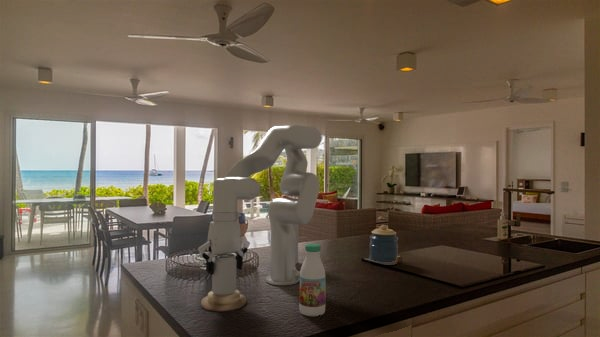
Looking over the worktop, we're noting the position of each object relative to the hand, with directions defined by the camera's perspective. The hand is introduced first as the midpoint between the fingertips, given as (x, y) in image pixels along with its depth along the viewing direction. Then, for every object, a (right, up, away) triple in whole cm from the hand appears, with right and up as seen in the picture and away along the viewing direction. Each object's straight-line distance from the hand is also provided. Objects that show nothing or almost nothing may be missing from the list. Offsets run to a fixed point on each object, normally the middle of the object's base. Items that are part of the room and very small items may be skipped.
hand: (224, 271), depth 117 cm
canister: (+62, -11, +53) cm, 83 cm away
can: (0, -7, 0) cm, 7 cm away
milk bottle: (+27, -11, -7) cm, 30 cm away
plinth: (0, -10, 0) cm, 10 cm away
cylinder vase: (+17, -11, +51) cm, 55 cm away
